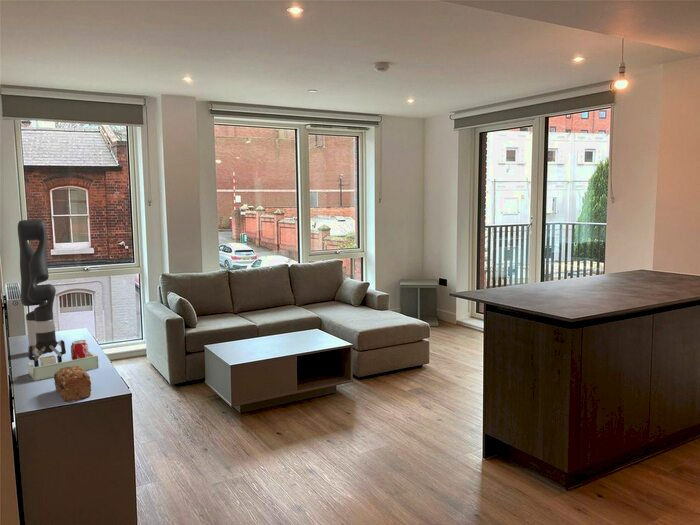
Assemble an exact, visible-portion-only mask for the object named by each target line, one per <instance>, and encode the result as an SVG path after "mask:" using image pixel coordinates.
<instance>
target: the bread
mask: <svg viewBox="0 0 700 525" xmlns="http://www.w3.org/2000/svg"><path fill="white" fill-rule="evenodd" d="M53 380H54V387H55V390H56V392H57V394H58V395H59V397H60V399H61V400H62V401H63V402H73V401H77V400H82V399H87V398H89V397H91V394H92V380H91V376H90V375H89V373H88V372H87V370H86V371H84V370H83V368H82V367H79V366H71V367H65V368H61V369H60V370H59V371H57V372H56V373H55V374H54V377H53Z"/></svg>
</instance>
